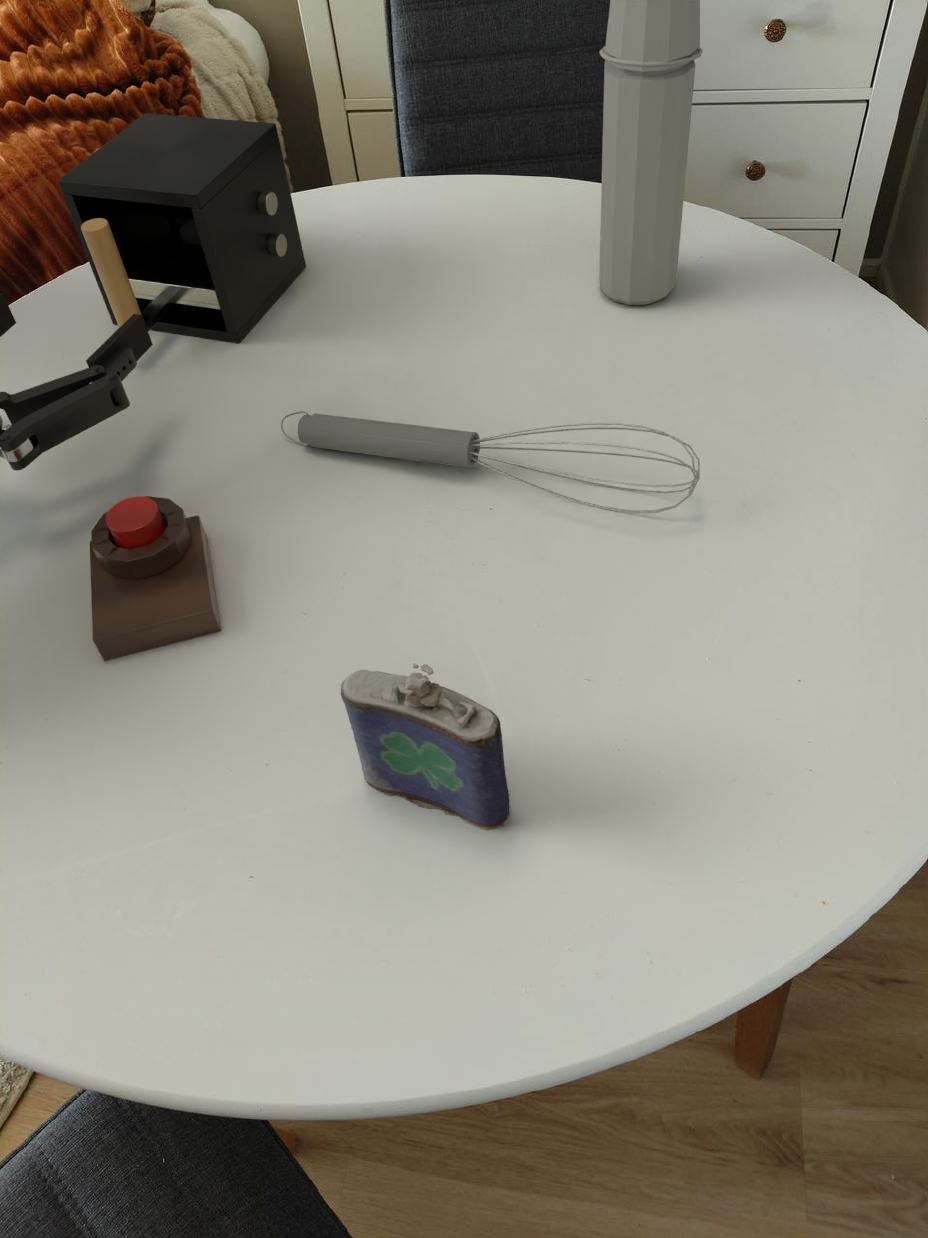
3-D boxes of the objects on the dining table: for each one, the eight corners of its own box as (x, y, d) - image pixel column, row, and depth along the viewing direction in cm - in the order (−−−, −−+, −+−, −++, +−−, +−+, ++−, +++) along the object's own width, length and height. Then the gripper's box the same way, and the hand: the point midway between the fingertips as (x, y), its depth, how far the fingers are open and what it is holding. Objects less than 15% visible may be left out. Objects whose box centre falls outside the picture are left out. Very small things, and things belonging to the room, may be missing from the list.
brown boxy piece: (99, 551, 74) (79, 511, 71) (205, 525, 75) (190, 485, 72) (104, 661, 67) (82, 622, 64) (221, 631, 68) (205, 591, 65)
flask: (357, 785, 59) (324, 673, 51) (380, 747, 61) (352, 632, 53) (500, 838, 56) (489, 727, 48) (520, 796, 57) (513, 682, 49)
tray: (77, 334, 89) (30, 224, 82) (183, 233, 100) (151, 127, 93) (183, 351, 86) (144, 237, 78) (281, 245, 97) (256, 136, 89)
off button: (113, 521, 71) (104, 503, 70) (163, 509, 71) (155, 490, 70) (115, 555, 69) (106, 536, 67) (166, 542, 69) (159, 523, 68)
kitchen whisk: (300, 415, 83) (284, 351, 79) (703, 488, 74) (713, 420, 69) (266, 461, 80) (247, 396, 75) (685, 544, 70) (694, 475, 65)
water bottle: (672, 314, 89) (699, 0, 70) (586, 305, 91) (591, -2, 72) (689, 261, 95) (719, -42, 76) (608, 254, 97) (617, -43, 78)
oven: (113, 324, 96) (56, 180, 85) (187, 251, 104) (145, 112, 93) (248, 344, 91) (207, 195, 81) (315, 267, 100) (285, 123, 89)
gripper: (-212, 494, 74) (-28, 338, 87) (60, 560, 67) (217, 379, 80) (-276, 412, 69) (-69, 258, 81) (14, 475, 61) (191, 295, 74)
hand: (73, 317), depth 81 cm, fingers open, 13 cm apart
